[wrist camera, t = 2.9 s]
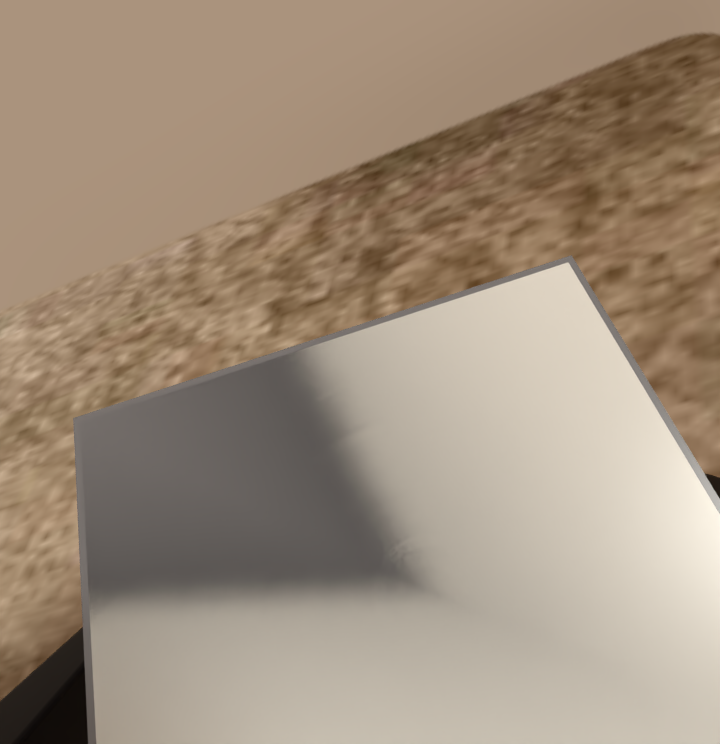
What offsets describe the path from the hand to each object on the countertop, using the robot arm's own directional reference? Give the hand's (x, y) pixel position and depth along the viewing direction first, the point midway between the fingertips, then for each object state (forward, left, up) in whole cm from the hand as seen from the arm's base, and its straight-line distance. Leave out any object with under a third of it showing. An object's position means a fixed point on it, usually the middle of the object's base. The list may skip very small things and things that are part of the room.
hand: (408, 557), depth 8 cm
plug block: (0, 0, -8) cm, 8 cm away
